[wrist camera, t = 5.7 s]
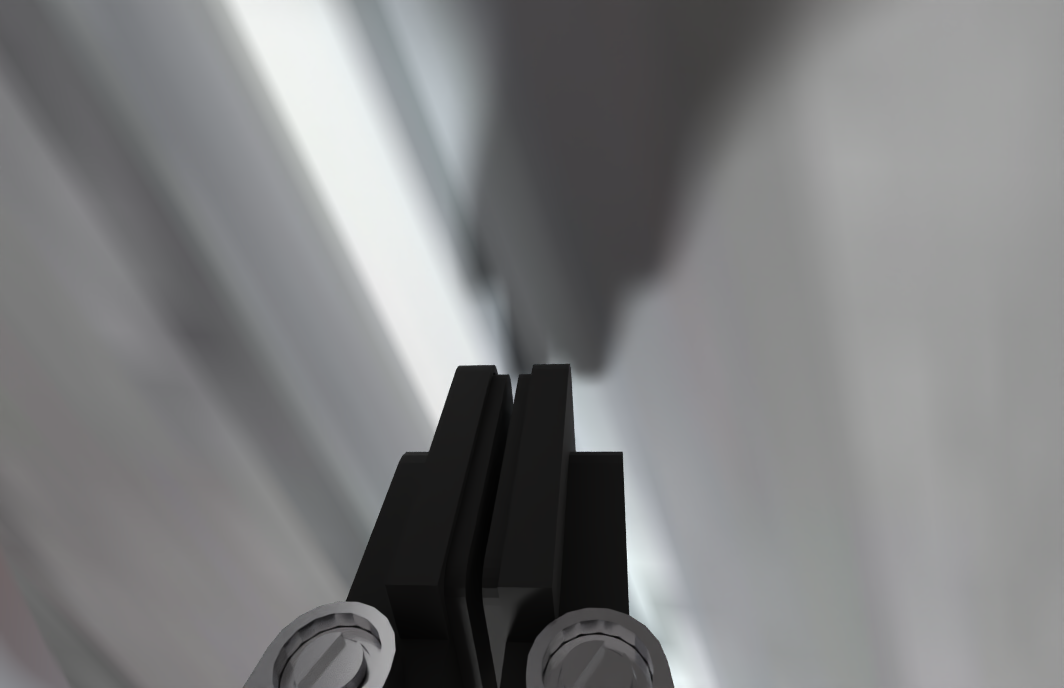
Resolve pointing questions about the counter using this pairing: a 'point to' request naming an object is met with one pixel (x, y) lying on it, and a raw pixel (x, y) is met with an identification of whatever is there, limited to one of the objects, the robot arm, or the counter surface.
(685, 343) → the counter surface
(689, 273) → the counter surface
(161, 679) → the counter surface
